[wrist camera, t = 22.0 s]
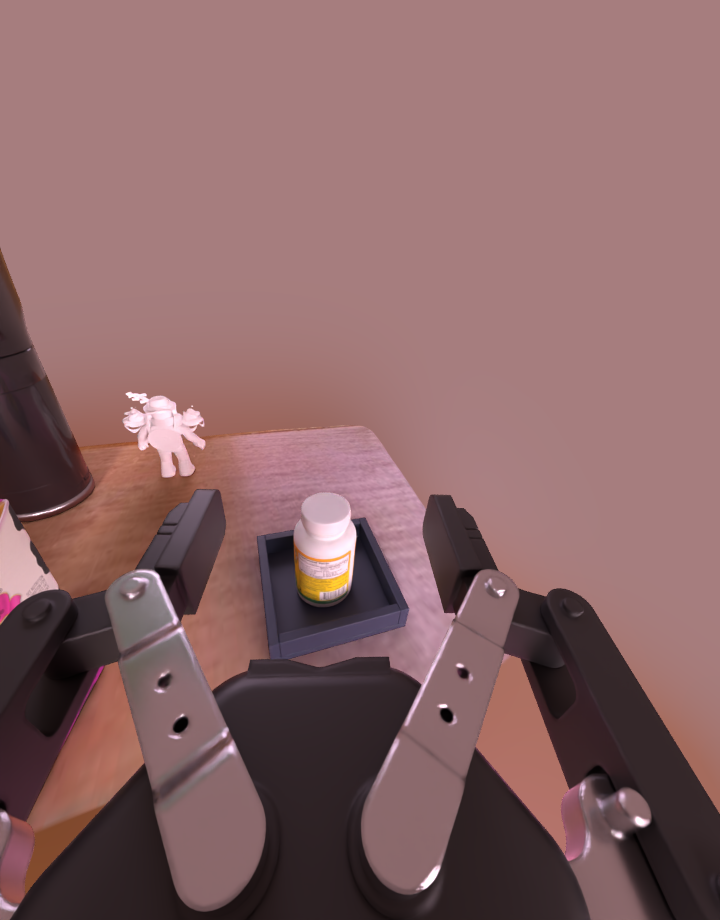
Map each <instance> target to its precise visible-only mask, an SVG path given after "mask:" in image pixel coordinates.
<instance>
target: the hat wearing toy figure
mask: <svg viewBox="0 0 720 920" xmlns="http://www.w3.org/2000/svg"><path fill="white" fill-rule="evenodd" d="M130 393H131V392H129V393H126V395H128V396H129V397H128V398H131V397H134V398H133V399H132V400H139V398H140V399H142V400H141V401H140V403H145V402H149V403H147V404H146V405H145V406H144V407H143V410H144V411H145V412H146V414H143V413H141V412H139V411H137V410H136V409H132V408H131V409H132V410H131V411H130V412H125V413H124V414H125V415H129V416H128V417H125V418H124V419H123V420H122V422H123V423H124V424H125V428H127V429H128V430H130V431H131V432H132V433H136V432H138V431H139V433H138V436H137V437H138V447H139V449H140V450H142V451H143V450H145V449H146V447H149V446H148V443H150V444H151V445H152V446H153V447H155V448H157V451H158V452H159V456H160V459H161V474H162V477H165V478H166V477H172V476H174V475H175V471H176V468H175V466H174V465H173V462H172V452H174V454H175V455H176V457H177V458H178V460H179V472H180V475H181V476H190V475H192V474H193V472H194V470H195V467H194V465H193V464H192V463H191V461H190V458H189V455H188V453H187V450H186V448H185V446H184V444H183V441H182V437H181V435H182V434H183V435H184V437H185V438H186V439H187V440H189V441H191V442H193V444H194V445H195V446H197V447H200V448H201V450H203V449H204V448H205V440H203V439H201V438H199V437H198V436H197V435H196V434H195V433H193V431H195V429H196V427H197V424H200V423H199V422H202V420H203V418H202V417H201V416H200V415H199V414H200V413H199V411H194V410H193V409H188V410H187V412H184V411H183V413H184V414H183V416H182V415H181V414H178V413H177V411H176V404H175V402H172V401H169V400H170V399H169V400H167V398H166V397H164V396H155V397H152V398H150V399H147V398H145V397H144V396H146V394H145V393H144V394H140V395H139V394H130ZM136 396H137V397H136ZM192 407H193V406H192ZM145 423H146V424H145ZM144 424H145V425H144ZM195 425H196V427H195V428H193V429H190V427H189V426H195ZM200 425H201V424H200ZM129 426H130V427H139V426H140V427H141V426H142V427H141V428H140V427H139V428H138V429H135V430H131V429H129ZM201 426H202V427H204V420H203V424H202V425H201ZM139 429H140V430H139ZM145 446H146V447H145Z"/></svg>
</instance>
